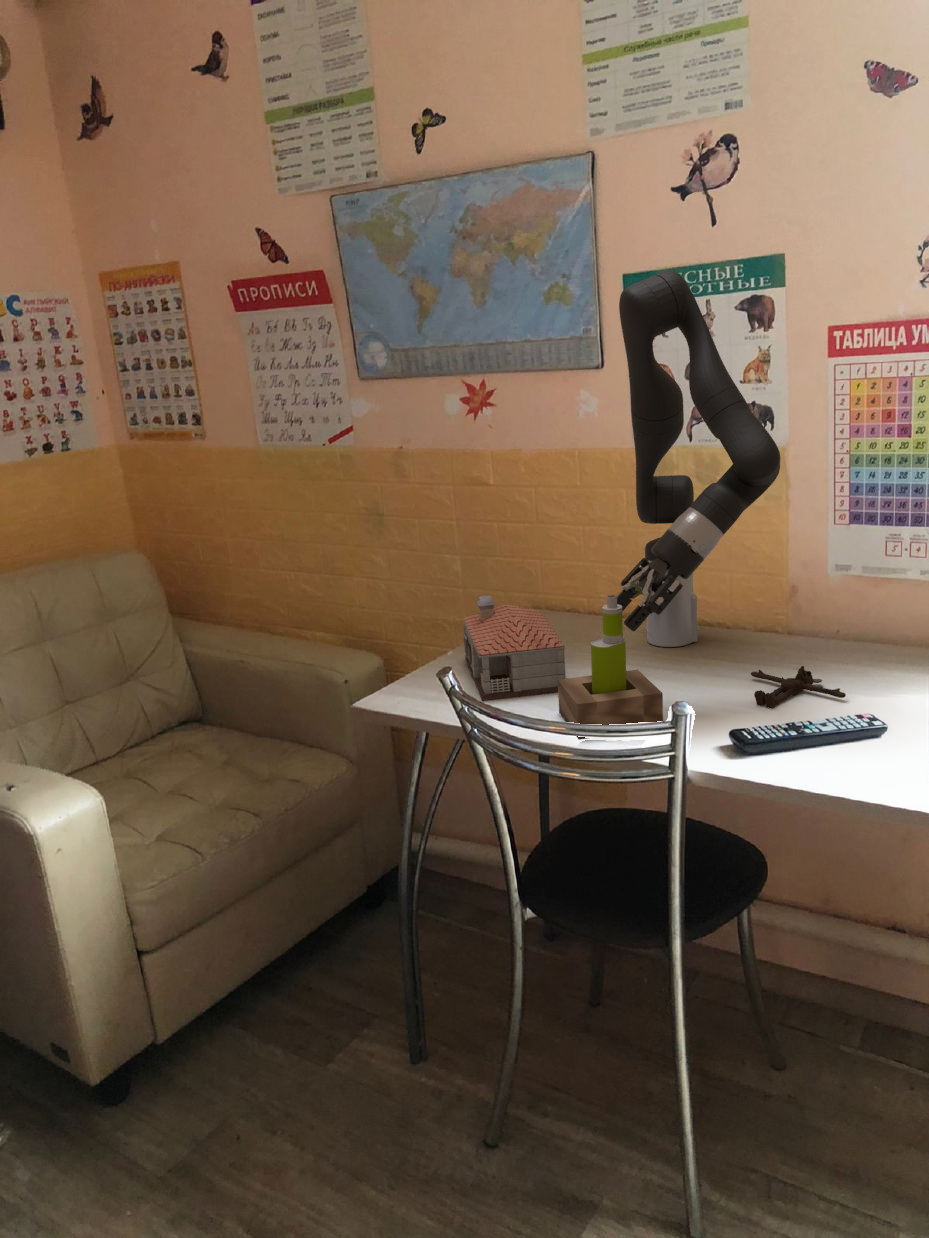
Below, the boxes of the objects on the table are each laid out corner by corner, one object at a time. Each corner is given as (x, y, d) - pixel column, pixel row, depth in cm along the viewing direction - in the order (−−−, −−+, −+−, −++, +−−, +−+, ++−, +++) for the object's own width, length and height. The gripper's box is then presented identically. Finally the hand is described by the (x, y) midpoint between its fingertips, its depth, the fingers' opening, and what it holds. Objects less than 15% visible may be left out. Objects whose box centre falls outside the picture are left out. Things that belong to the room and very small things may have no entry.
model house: (463, 661, 205) (458, 588, 201) (541, 652, 207) (537, 580, 202) (480, 702, 182) (474, 621, 178) (567, 693, 184) (563, 612, 180)
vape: (631, 712, 170) (629, 595, 164) (604, 722, 166) (601, 603, 161) (615, 706, 173) (612, 591, 167) (589, 716, 169) (585, 599, 164)
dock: (638, 702, 176) (637, 669, 175) (663, 728, 165) (662, 693, 163) (559, 712, 174) (557, 679, 173) (578, 739, 163) (577, 704, 161)
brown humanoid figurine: (717, 680, 176) (765, 651, 185) (718, 703, 178) (766, 672, 186) (812, 704, 163) (859, 671, 172) (813, 728, 165) (860, 694, 173)
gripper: (655, 520, 169) (590, 595, 171) (687, 537, 156) (617, 618, 158) (686, 548, 172) (622, 621, 173) (721, 567, 158) (651, 647, 160)
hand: (620, 620), depth 166 cm, fingers open, 8 cm apart
